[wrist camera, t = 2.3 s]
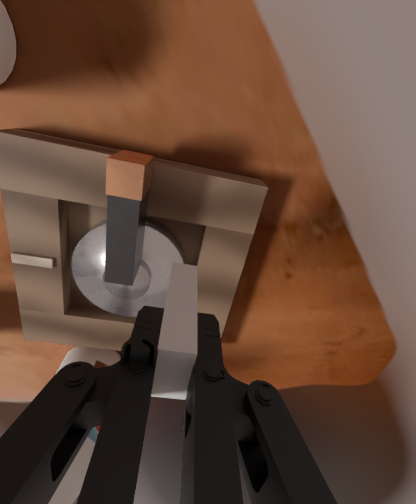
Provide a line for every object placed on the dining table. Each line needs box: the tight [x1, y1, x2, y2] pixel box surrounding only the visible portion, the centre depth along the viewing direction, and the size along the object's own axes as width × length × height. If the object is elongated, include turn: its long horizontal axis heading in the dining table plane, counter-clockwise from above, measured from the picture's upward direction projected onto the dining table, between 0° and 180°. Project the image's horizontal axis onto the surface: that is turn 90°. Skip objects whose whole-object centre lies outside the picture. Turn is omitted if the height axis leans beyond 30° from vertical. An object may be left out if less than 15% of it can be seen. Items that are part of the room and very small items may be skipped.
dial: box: [72, 150, 186, 317], centre depth 24 cm, size 17×11×7 cm, turn 168°
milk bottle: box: [48, 346, 121, 504], centre depth 27 cm, size 8×8×20 cm
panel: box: [0, 128, 268, 351], centre depth 28 cm, size 22×22×3 cm
